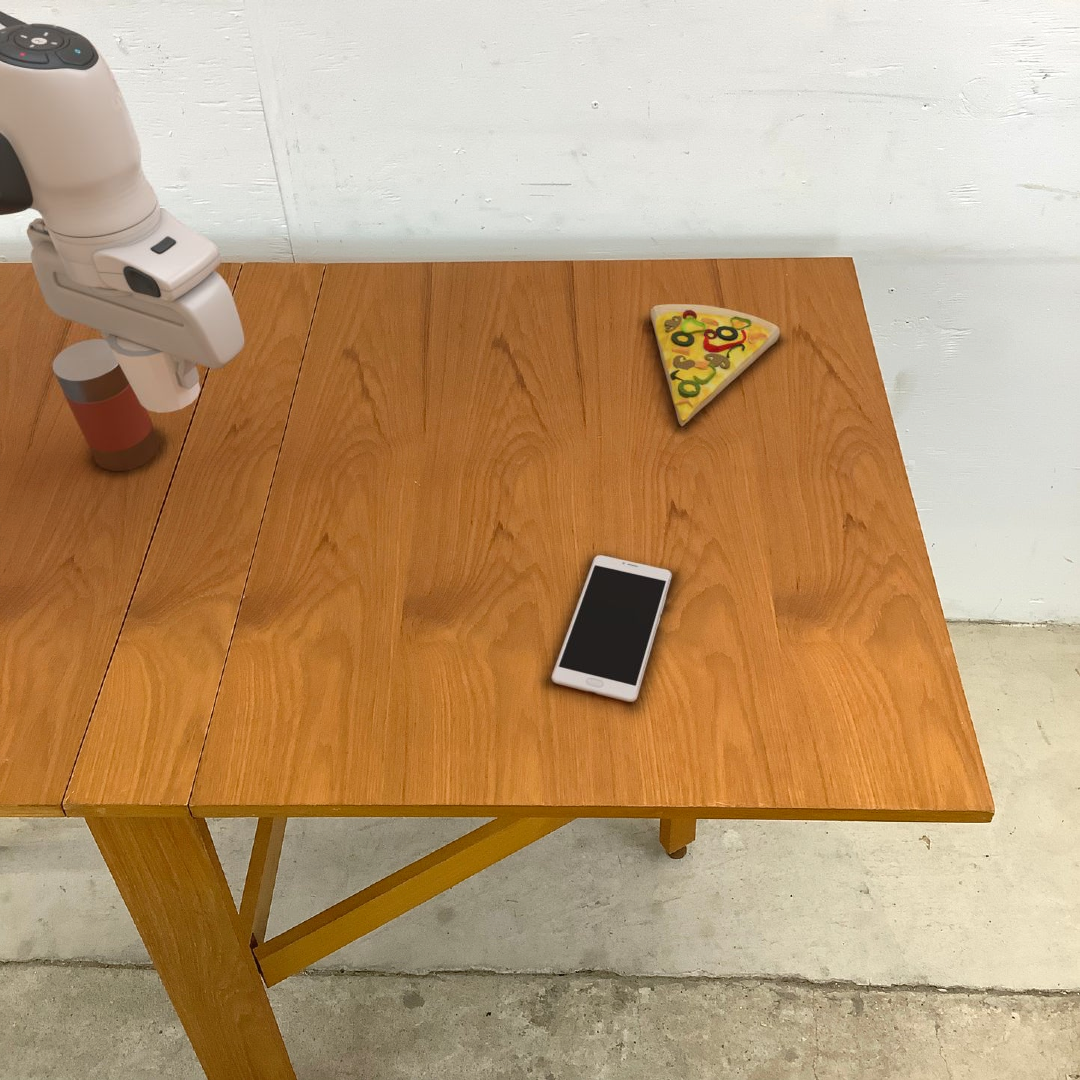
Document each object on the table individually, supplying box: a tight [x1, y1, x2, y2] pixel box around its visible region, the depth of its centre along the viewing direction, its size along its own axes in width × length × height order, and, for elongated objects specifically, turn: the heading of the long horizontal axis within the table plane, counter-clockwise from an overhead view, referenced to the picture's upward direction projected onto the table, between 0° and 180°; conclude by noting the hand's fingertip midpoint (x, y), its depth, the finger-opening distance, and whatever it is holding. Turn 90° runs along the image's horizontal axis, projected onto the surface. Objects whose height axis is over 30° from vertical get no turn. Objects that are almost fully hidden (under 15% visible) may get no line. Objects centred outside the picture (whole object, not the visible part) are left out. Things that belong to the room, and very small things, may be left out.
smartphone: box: [551, 554, 673, 703], centre depth 87 cm, size 8×1×15 cm
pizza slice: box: [650, 303, 781, 427], centre depth 111 cm, size 16×21×3 cm
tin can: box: [52, 338, 160, 472], centre depth 100 cm, size 7×7×12 cm
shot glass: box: [108, 334, 201, 414], centre depth 91 cm, size 7×7×7 cm
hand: (162, 374), depth 91 cm, fingers closed on shot glass, 5 cm apart
